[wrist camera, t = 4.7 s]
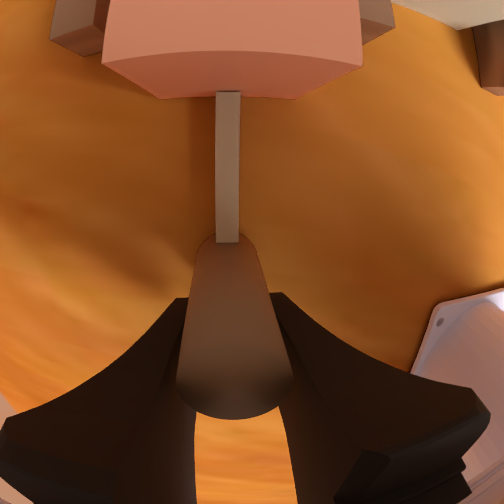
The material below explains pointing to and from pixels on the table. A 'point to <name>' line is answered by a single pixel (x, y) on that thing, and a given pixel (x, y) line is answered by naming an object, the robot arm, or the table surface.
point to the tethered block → (231, 164)
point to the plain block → (458, 11)
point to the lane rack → (371, 18)
